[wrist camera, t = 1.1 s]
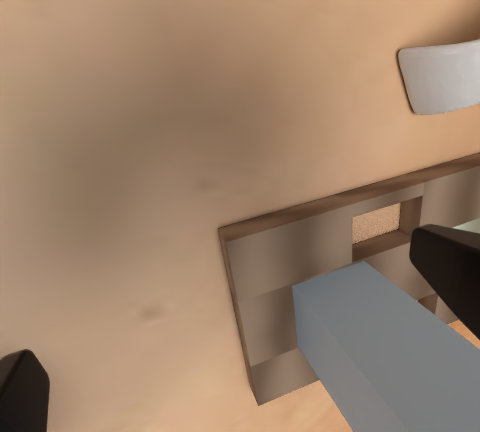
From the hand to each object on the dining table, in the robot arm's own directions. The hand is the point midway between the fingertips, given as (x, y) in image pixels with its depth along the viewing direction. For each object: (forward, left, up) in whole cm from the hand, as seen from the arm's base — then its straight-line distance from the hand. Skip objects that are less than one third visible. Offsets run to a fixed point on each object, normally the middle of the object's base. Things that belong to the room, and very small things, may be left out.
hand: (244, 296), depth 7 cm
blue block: (-3, -16, -11) cm, 19 cm away
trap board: (+1, -19, -13) cm, 23 cm away
